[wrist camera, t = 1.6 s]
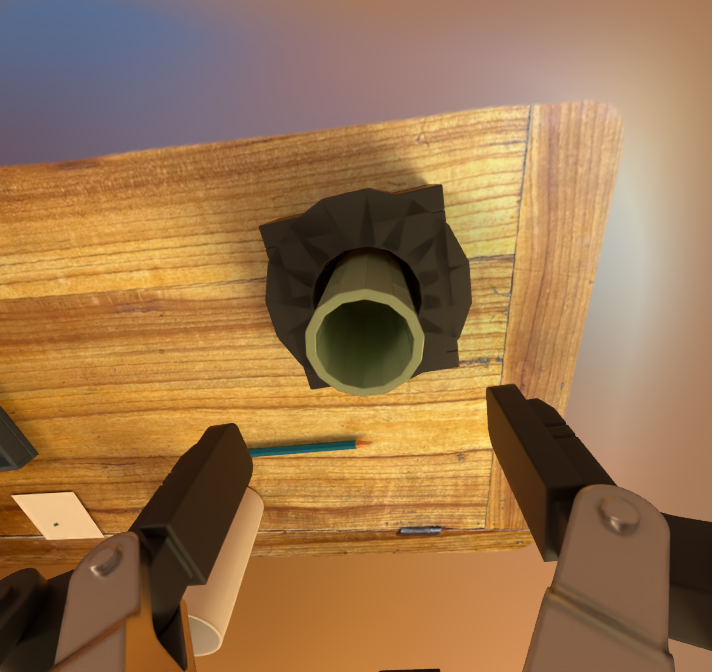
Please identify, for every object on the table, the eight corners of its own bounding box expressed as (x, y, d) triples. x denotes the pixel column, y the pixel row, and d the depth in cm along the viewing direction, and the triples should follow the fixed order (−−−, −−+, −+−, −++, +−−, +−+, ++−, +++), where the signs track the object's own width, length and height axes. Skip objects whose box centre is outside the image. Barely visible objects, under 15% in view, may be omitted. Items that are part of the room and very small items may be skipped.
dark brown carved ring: (260, 213, 24) (236, 219, 20) (446, 169, 22) (462, 166, 18) (309, 369, 29) (298, 399, 25) (461, 344, 27) (477, 372, 23)
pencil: (208, 451, 34) (205, 456, 33) (373, 437, 32) (373, 442, 31) (211, 457, 34) (207, 462, 33) (374, 443, 32) (374, 448, 31)
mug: (253, 476, 35) (199, 608, 24) (275, 518, 38) (235, 654, 27) (170, 489, 36) (84, 618, 26) (197, 528, 39) (128, 660, 28)
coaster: (73, 491, 37) (67, 497, 37) (104, 537, 41) (99, 543, 40) (11, 495, 38) (4, 501, 37) (47, 539, 41) (41, 545, 41)
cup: (323, 255, 25) (289, 302, 15) (398, 239, 24) (416, 278, 14) (340, 322, 27) (320, 403, 17) (409, 310, 26) (431, 387, 16)
